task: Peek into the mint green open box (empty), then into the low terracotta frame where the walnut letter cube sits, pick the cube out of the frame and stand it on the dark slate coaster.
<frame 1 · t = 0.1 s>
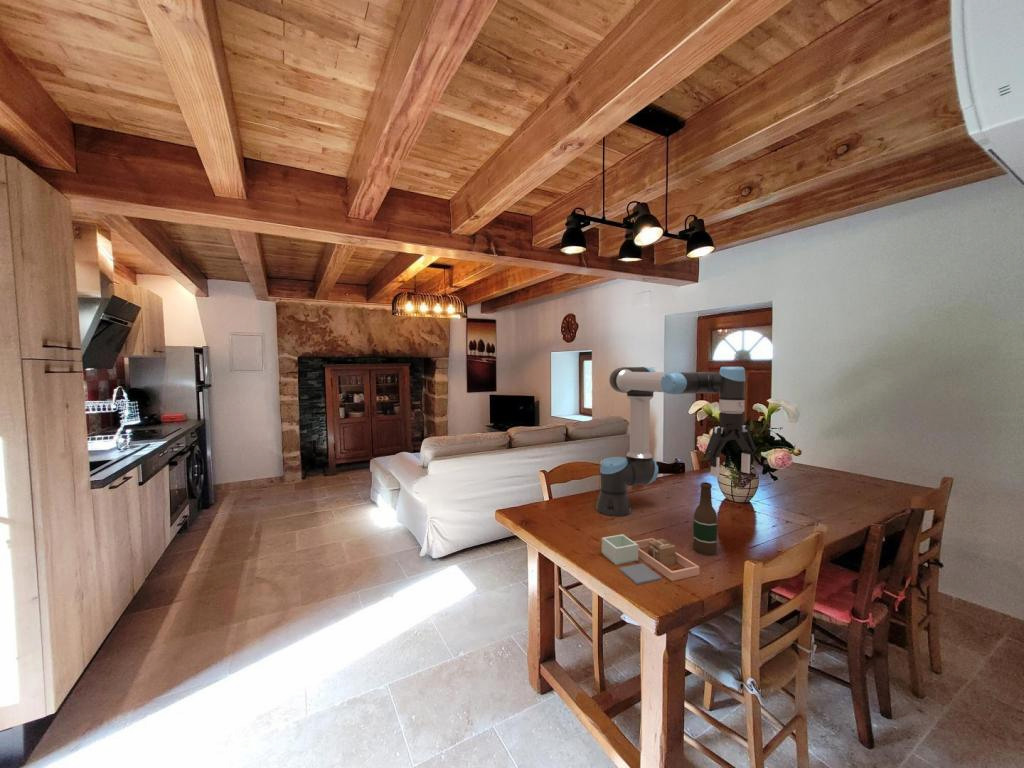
hand: (730, 474, 131), 28 cm above the table, fingers open, 13 cm apart
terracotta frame: (661, 561, 128), on the table
mint green open box: (619, 557, 130), on the table
letter cube: (661, 552, 127), in the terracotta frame
beer bottle: (704, 551, 135), on the table
slate coaster: (639, 574, 119), on the table
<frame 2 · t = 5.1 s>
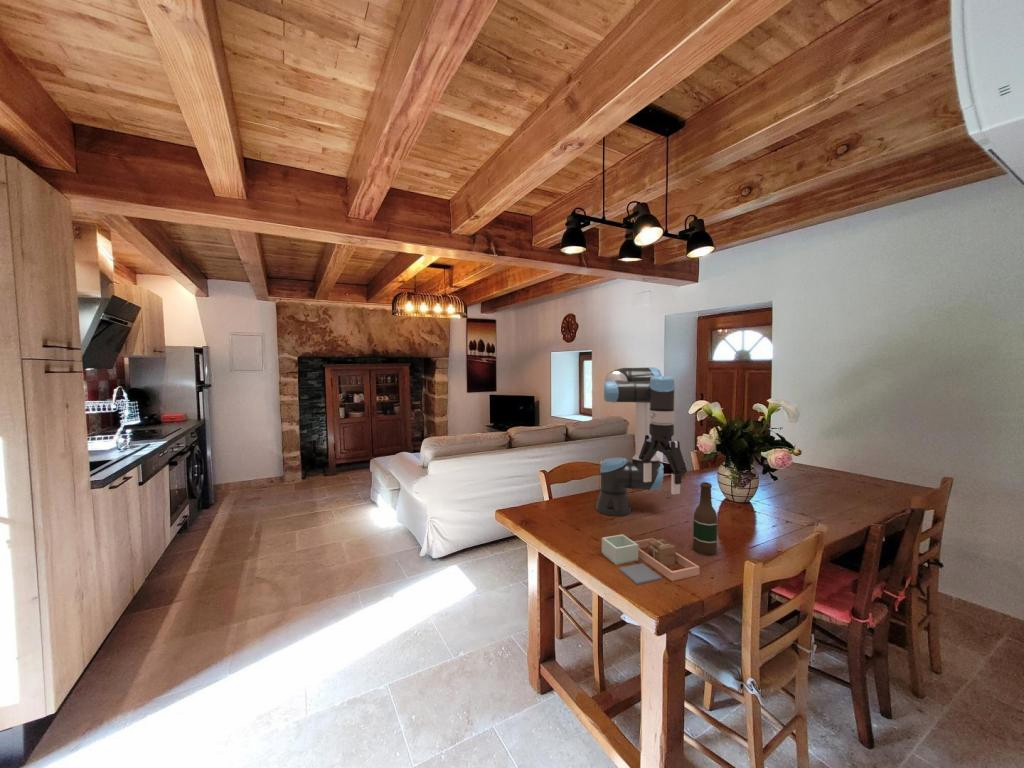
hand: (660, 487, 127), 25 cm above the table, fingers open, 13 cm apart
nothing on the table moved.
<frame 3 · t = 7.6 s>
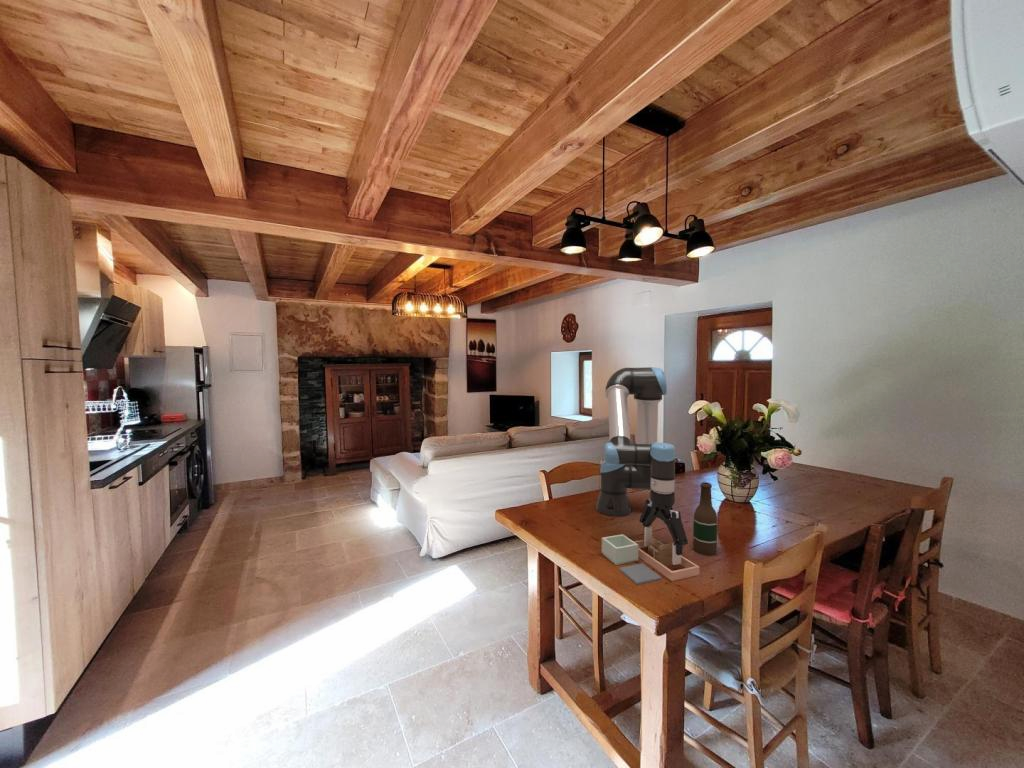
hand: (661, 554, 127), 2 cm above the table, fingers open, 13 cm apart
nothing on the table moved.
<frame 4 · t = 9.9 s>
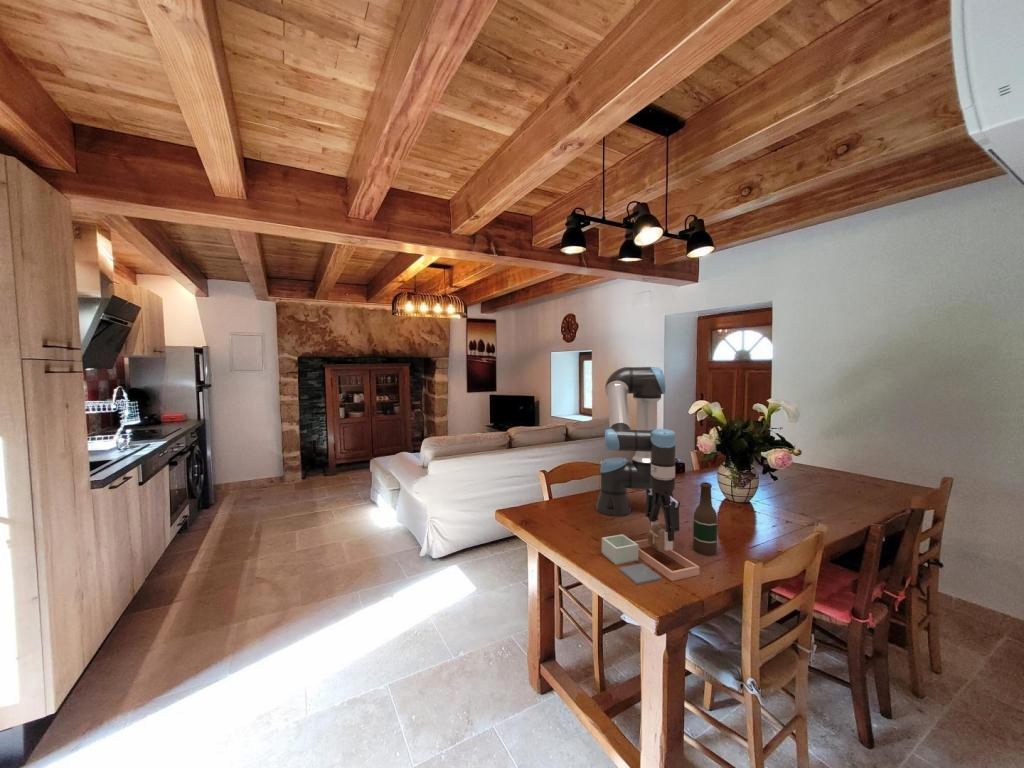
hand: (661, 544, 128), 5 cm above the table, fingers closed on letter cube, 6 cm apart
letter cube: (661, 537, 128), point 8 cm above the table, touching gripper
everything else where it was.
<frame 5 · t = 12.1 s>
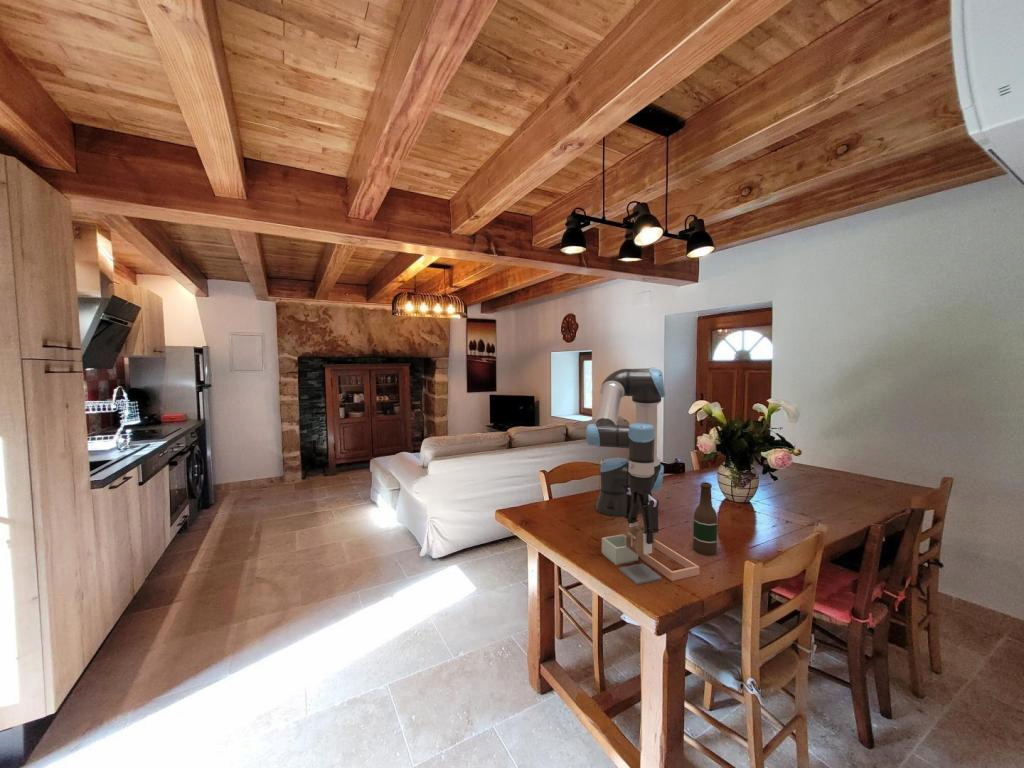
hand: (640, 548, 119), 8 cm above the table, fingers closed on letter cube, 6 cm apart
letter cube: (640, 539, 119), point 11 cm above the table, touching gripper
everything else where it was.
when the fingers open (1 cm above the table, at t = 14.1 s): letter cube stays where it is, resting on slate coaster.
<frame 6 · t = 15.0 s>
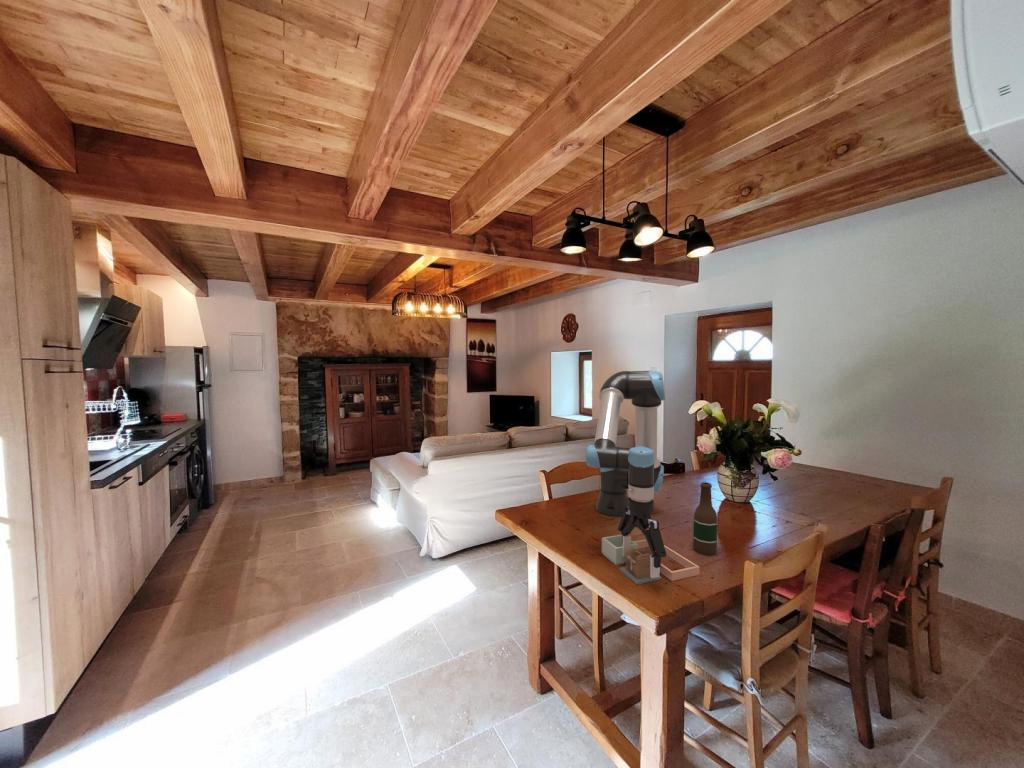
hand: (640, 565, 119), 3 cm above the table, fingers open, 13 cm apart
letter cube: (639, 563, 119), on the slate coaster, point 4 cm above the table
everything else where it was.
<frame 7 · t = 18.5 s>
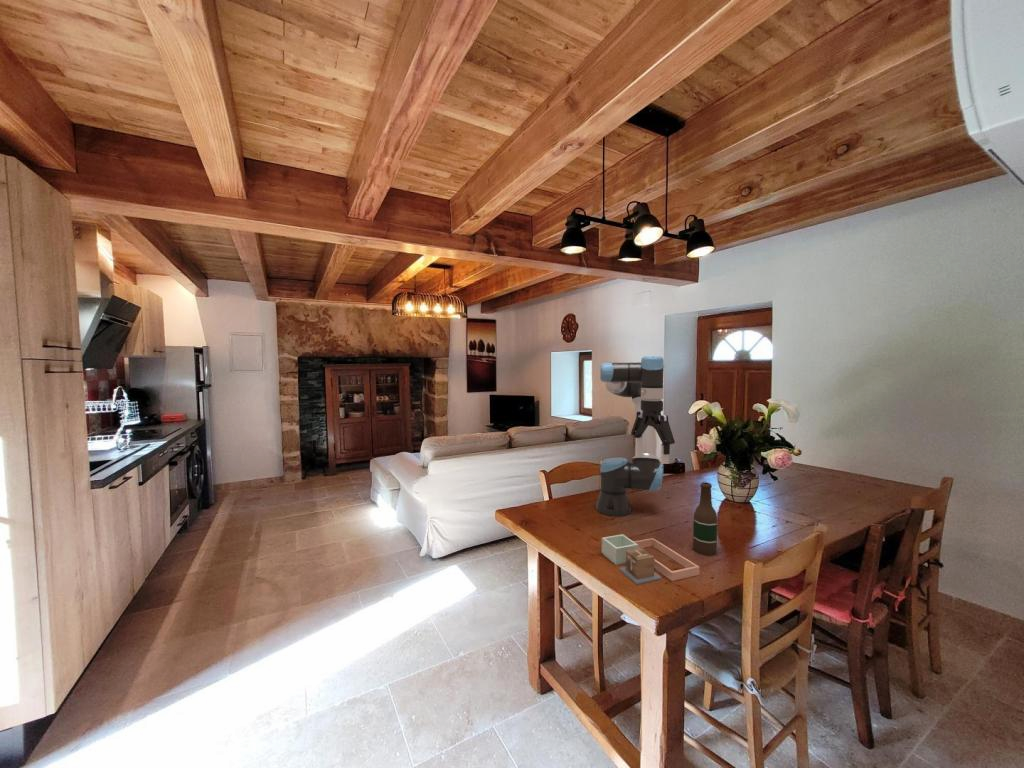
hand: (651, 459, 137), 32 cm above the table, fingers open, 13 cm apart
nothing on the table moved.
at the end: letter cube inside the target area on the slate coaster (0.1 cm from its centre), point 3.6 cm above the slate coaster's base; letter cube tilted 0°; the gripper is holding nothing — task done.
